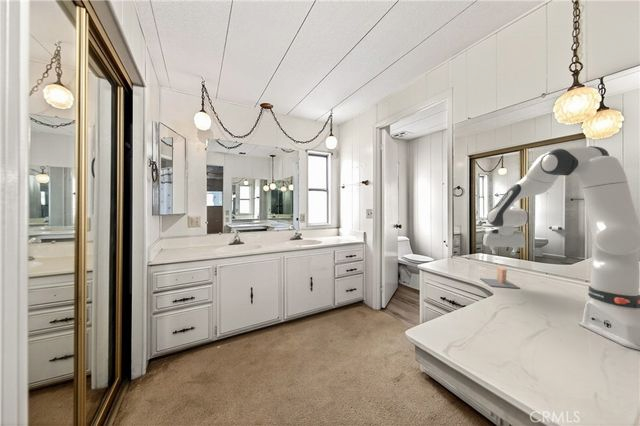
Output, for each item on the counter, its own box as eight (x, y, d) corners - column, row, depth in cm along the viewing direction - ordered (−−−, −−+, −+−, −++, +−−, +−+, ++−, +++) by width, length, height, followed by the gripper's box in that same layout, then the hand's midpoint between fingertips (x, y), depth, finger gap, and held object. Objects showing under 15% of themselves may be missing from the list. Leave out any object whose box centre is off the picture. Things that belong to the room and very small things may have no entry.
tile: (506, 283, 136) (506, 269, 135) (502, 283, 136) (502, 269, 136) (500, 280, 141) (501, 267, 141) (496, 280, 142) (497, 267, 142)
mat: (520, 288, 129) (520, 287, 129) (490, 286, 132) (490, 285, 132) (506, 281, 142) (506, 280, 142) (480, 279, 146) (480, 278, 146)
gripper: (521, 230, 138) (521, 254, 139) (482, 229, 143) (481, 252, 143) (528, 231, 132) (527, 256, 133) (486, 230, 137) (486, 254, 137)
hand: (503, 254), depth 138 cm, fingers open, 8 cm apart
